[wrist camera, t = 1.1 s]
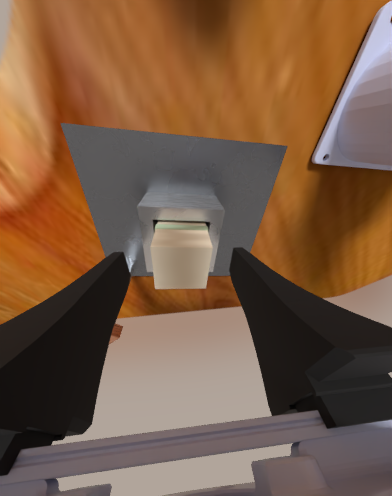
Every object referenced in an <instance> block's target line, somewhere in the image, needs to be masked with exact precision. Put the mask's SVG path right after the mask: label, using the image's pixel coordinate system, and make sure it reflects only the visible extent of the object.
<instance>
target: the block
mask: <svg viewBox="0 0 392 496" xmlns="http://www.w3.org/2000/svg"><path fill="white" fill-rule="evenodd" d="M150 248H151V257H152V265H153V274H154V283H155V289H197V288H206V284H207V279H208V273H209V267H210V261H211V256H212V250H213V247H212V243H211V240H210V237H209V234H208V227H207V226H206V224H205V221H180V220H158V223H157V224H156V226H155V233H154V236H153V240H152V243H151V246H150Z"/></svg>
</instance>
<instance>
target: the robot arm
mask: <svg viewBox="0 0 392 496" xmlns="http://www.w3.org/2000/svg"><path fill="white" fill-rule="evenodd" d="M391 16H392V1H390V2H389V3H387V4H386V5H384V6H383V7H381V8H380V10H379V11H378V12H377V14H376V15H375V17H374V19H373V22H372V24H371V26H370V28H369V31H368V33H367V35H366V37H365V40H364V42H363V44H362V46H361V49H360V51H359V53H358V55H357V58H356V60H355V62H354V64H353V66H352V69H351V71H350V73H349V75H348V78H347V80H346V82H345V84H344V87H343V89H342V91H341V93H340V96H339V98H338V100H337V102H336V105H335V107H334V109H333V111H332V114H331V116H330V118H329V120H328V123H327V125H326V127H325V129H324V132H323V134H322V136H321V138H320V140H319V143H318V145H317V147H316V149H315V152H314V154H313V156H312V162H313V163H315V164H325V165H336V166H347V167H358V168H369V169H381V170H392V22H391V23H390V19H391ZM325 155H326V157H325V159H324V160H323V157H324V156H325ZM229 272H230V276H231V280H232V283H233V286H234V288H235V291H236V293H237V296H238V298H239V301H240V303H241V305H242V308H243V310H244V312H245V315H246V318H247V322H248V325H249V328H250V332H251V335H252V338H253V342H254V346H255V350H256V353H257V357H258V361H259V365H260V369H261V373H262V378H263V382H264V387H265V391H266V396H267V400H268V405H269V408H270V411H271V414H272V416H270V417H263V418H255V419H248V420H240V421H232V422H226V423H217V424H209V425H202V426H194V427H187V428H179V429H172V430H164V431H157V432H149V433H142V434H134V435H127V436H120V437H111V438H104V439H96V440H89V441H81V442H74V443H66V444H59V445H51V444H52V442H53V441H58V440H63V439H64V438H65V436H72V435H79V434H83V433H84V432H85V431H86V430H87V429H88V428H89V427H90V425H91V424H92V420H93V415H94V409H95V404H96V399H97V393H98V388H99V384H100V379H101V375H102V370H103V365H104V361H105V357H106V353H107V349H108V345H109V341H110V338H111V334H112V330H113V327H114V324H115V321H116V319H117V316H118V314H119V311H120V308H121V306H122V303H123V300H124V298H125V295H126V292H127V290H128V286H129V282H130V277H131V274H130V271H129V268H128V264H127V261H126V258H125V255H124V252H113V253H112V254H110V255H109V256H107V257H106V258H105V259H103V260H102V261H101V262H100V263H98V264H97V265H96V266H94V267H93V268H92V269H90V270H89V271H88V272H87V273H85V274H84V275H82V276H81V277H80V278H78V279H77V280H75V281H74V282H73V283H71V284H70V285H68V286H67V287H65V288H64V289H62V290H61V291H59V292H58V293H56V294H55V295H53V296H51V297H50V298H48V299H47V300H45V301H43V302H42V303H40V304H38V305H36V306H35V307H33V308H31V309H29V310H27V311H26V312H24V313H22V314H20V315H18V316H16V317H15V318H13V319H11V320H9V321H7V322H5V323H3V324H1V325H0V496H110V492H111V484H103V485H95V486H88V487H83V488H77V489H72V490H67V491H62V492H61V491H59V488H58V486H59V485H58V481H57V479H55V478H61V477H68V476H74V475H82V474H88V473H95V472H102V471H108V470H114V469H122V468H129V467H135V466H142V465H148V464H155V463H162V462H168V461H176V460H182V459H189V458H196V457H202V456H209V455H216V454H222V453H229V452H236V451H243V450H249V449H256V448H263V447H269V446H276V445H283V444H289V443H293V444H292V446H291V455H290V456H285V457H277V458H269V459H264V460H258V461H253V462H252V464H251V466H252V471H253V475H254V480H255V482H252V483H244V484H236V485H229V486H221V487H213V488H207V489H199V490H192V491H186V492H180V493H175V494H169V495H164V496H392V378H391V377H390V375H389V374H388V373H390V372H392V328H391V327H389V326H386V325H384V324H381V323H379V322H376V321H373V320H371V319H368V318H366V317H363V316H360V315H358V314H355V313H353V312H351V311H348V310H346V309H344V308H341V307H339V306H337V305H334V304H332V303H330V302H328V301H326V300H324V299H322V298H320V297H318V296H316V295H314V294H312V293H310V292H308V291H306V290H304V289H302V288H301V287H299V286H297V285H295V284H294V283H292V282H290V281H289V280H287V279H285V278H284V277H282V276H281V275H279V274H278V273H276V272H275V271H273V270H272V269H270V268H269V267H268V266H266V265H265V264H264V263H262V262H261V261H260V260H258V259H257V258H256V257H254V256H253V255H252V254H251V253H249V252H248V251H247V250H245V249H244V248H243V247H235V248H233V252H232V257H231V262H230V268H229Z"/></svg>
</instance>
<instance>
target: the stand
mask: <svg viewBox="0 0 392 496" xmlns="http://www.w3.org/2000/svg"><path fill="white" fill-rule="evenodd" d="M61 126H62V129H63V132H64V135H65V138H66V141H67V144H68V147H69V150H70V153H71V156H72V158H73V161H74V164H75V167H76V170H77V173H78V176H79V179H80V182H81V185H82V188H83V191H84V194H85V197H86V200H87V203H88V206H89V209H90V212H91V215H92V218H93V221H94V224H95V227H96V230H97V233H98V236H99V239H100V242H101V245H102V248H103V251H104V254H105V257H107V256H109V255H110V254H112V253H113V252H124V255H125V258H126V261H127V264H128V268H129V271H130V274H131V277H130V281H131V278H132V276H154V274H153V265H152V257H151V248H150V246H151V243H152V240H153V236H154V233H155V226H156V224H157V223H158V220H180V221H205V224H206V226H207V227H208V234H209V237H210V240H211V243H212V247H213V250H212V256H211V261H210V267H209V273H208V276H230V272H229V268H230V262H231V257H232V252H233V248H235V247H243V248H244V249H245V250H247V251H248V252H249V253H250V251H251V248H252V245H253V242H254V240H255V237H256V234H257V231H258V228H259V226H260V223H261V220H262V217H263V214H264V211H265V209H266V206H267V203H268V200H269V197H270V194H271V192H272V189H273V186H274V183H275V180H276V177H277V175H278V172H279V169H280V166H281V163H282V160H283V158H284V155H285V152H286V149H287V146H282V145H272V144H262V143H252V142H242V141H232V140H223V139H213V138H203V137H193V136H183V135H173V134H163V133H154V132H144V131H134V130H124V129H114V128H104V127H95V126H85V125H75V124H65V123H61ZM129 284H130V282H129ZM117 317H118V316H117ZM115 322H116V321H115ZM122 328H123V326H120V325H118V324H114V327H113V330H112V334H111V338H110V341H109V344H111V343H112V342H114V341H115V340H117V339H118V338H119V337H120V334H121V331H122Z"/></svg>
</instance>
